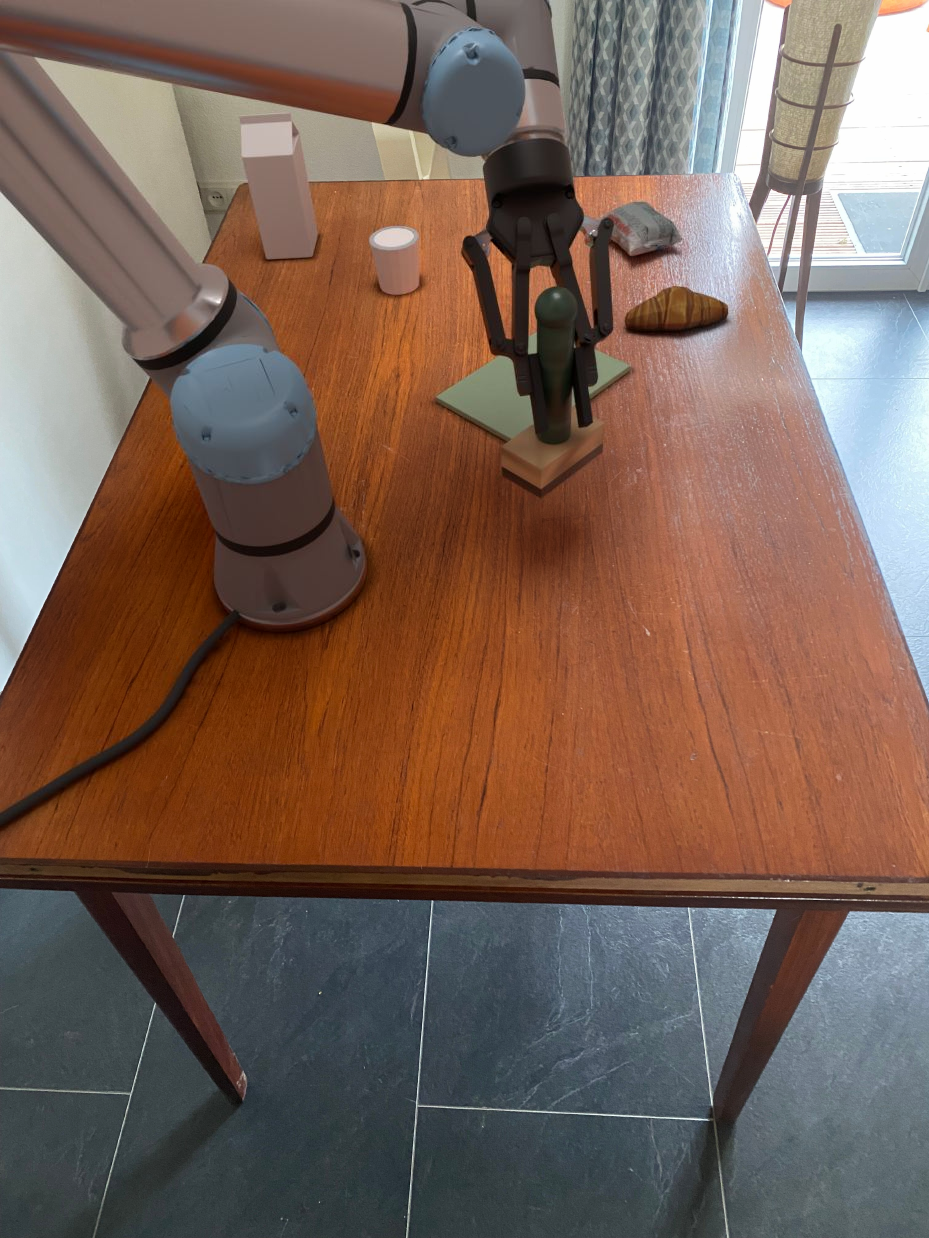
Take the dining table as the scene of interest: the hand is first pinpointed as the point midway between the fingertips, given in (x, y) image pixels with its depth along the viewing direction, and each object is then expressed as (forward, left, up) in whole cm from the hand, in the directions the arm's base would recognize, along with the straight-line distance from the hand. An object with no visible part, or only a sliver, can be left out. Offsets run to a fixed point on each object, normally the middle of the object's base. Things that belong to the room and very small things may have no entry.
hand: (563, 428), depth 79 cm
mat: (+20, +22, -16) cm, 34 cm away
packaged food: (+55, +34, -17) cm, 67 cm away
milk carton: (+23, +74, -17) cm, 79 cm away
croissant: (+42, +17, -17) cm, 48 cm away
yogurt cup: (+26, +53, -17) cm, 61 cm away
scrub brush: (+2, +3, -7) cm, 8 cm away
